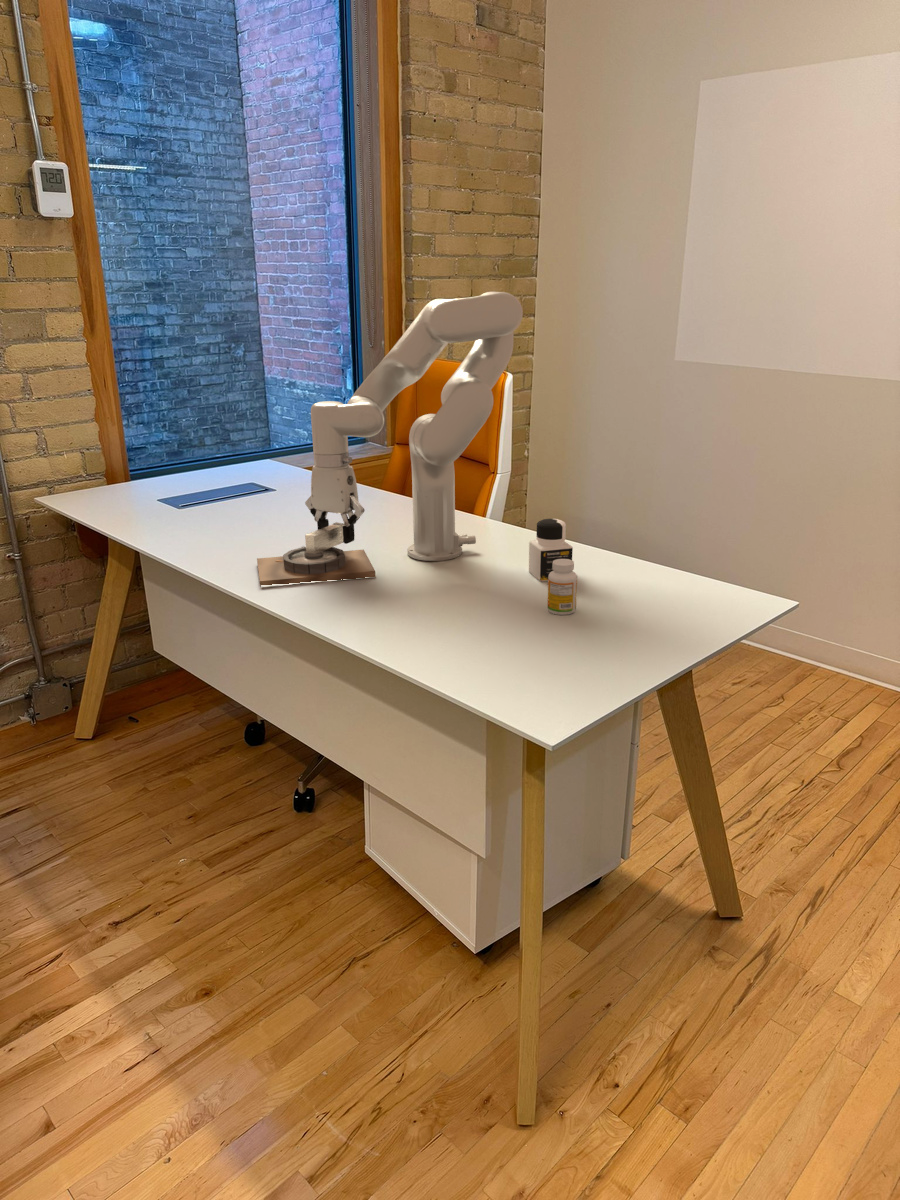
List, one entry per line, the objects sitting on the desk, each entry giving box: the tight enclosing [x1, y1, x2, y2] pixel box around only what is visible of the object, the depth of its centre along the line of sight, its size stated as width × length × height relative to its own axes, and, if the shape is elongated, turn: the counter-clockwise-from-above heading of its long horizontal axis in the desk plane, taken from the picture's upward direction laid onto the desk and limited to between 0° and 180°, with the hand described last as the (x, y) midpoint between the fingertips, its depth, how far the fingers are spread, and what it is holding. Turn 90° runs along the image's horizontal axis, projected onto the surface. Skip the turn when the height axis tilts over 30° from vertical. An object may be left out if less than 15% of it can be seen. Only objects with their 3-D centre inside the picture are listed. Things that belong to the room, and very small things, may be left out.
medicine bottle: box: [528, 518, 574, 583], centre depth 181 cm, size 7×7×12 cm
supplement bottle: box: [547, 559, 578, 616], centre depth 162 cm, size 5×5×10 cm
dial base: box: [256, 546, 376, 585], centre depth 187 cm, size 24×16×4 cm
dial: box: [291, 521, 345, 563], centre depth 188 cm, size 15×10×7 cm, turn 149°
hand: (336, 539), depth 192 cm, fingers open, 6 cm apart
